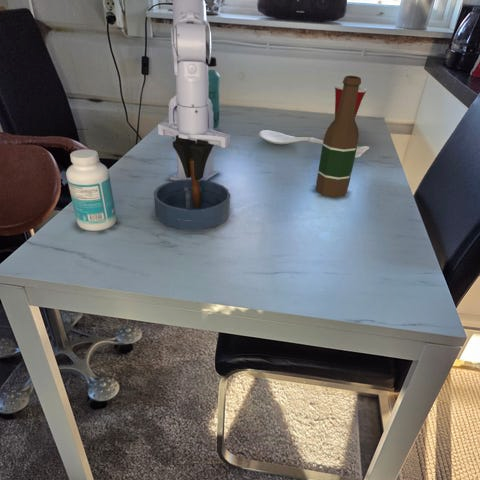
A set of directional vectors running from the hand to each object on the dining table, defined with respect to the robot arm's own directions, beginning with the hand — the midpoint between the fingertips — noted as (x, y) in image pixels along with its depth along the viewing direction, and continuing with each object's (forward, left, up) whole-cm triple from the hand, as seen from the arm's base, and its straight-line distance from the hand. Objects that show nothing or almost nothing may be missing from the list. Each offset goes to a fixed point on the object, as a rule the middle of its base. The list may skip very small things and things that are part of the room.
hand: (194, 177), depth 86 cm
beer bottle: (-25, +23, -7) cm, 34 cm away
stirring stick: (-1, 0, -6) cm, 6 cm away
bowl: (+2, +1, -7) cm, 7 cm away
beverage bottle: (-51, -24, -7) cm, 57 cm away
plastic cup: (-83, +11, -7) cm, 84 cm away
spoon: (-51, +9, -7) cm, 52 cm away
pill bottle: (+15, -13, -7) cm, 21 cm away
